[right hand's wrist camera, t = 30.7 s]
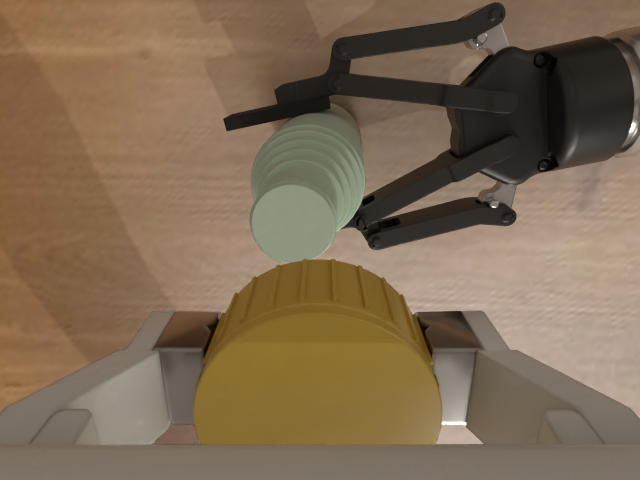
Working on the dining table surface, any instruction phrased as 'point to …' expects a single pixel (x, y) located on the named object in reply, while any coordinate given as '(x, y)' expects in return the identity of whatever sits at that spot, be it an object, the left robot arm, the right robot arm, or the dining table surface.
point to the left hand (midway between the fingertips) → (244, 173)
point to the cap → (318, 363)
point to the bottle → (307, 184)
